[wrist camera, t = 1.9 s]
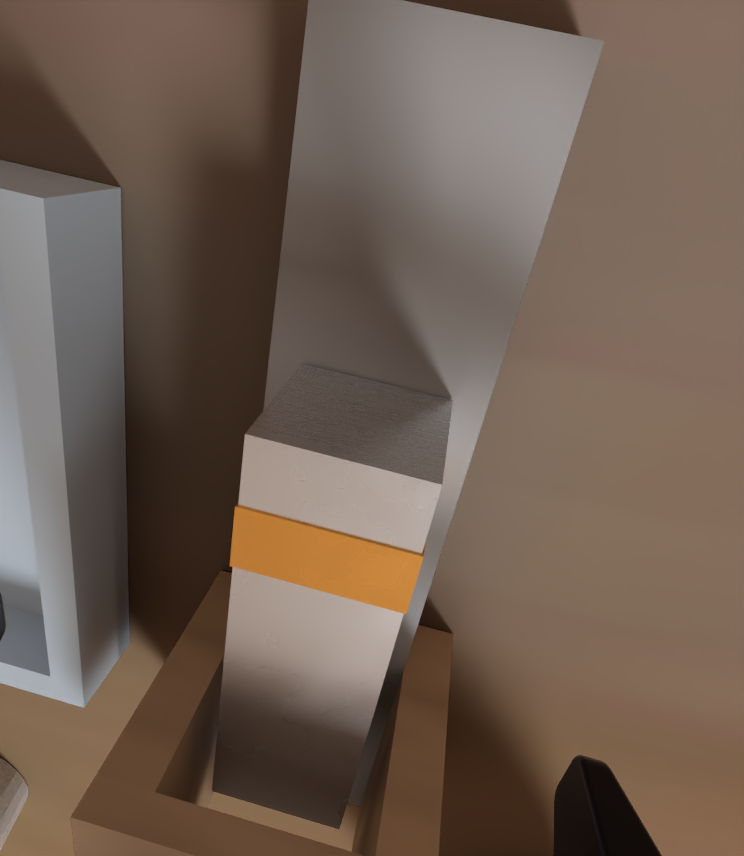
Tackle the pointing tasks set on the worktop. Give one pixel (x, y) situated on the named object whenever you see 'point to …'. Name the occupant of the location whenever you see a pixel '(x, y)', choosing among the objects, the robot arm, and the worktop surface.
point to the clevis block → (374, 372)
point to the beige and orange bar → (321, 582)
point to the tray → (61, 434)
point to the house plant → (10, 798)
